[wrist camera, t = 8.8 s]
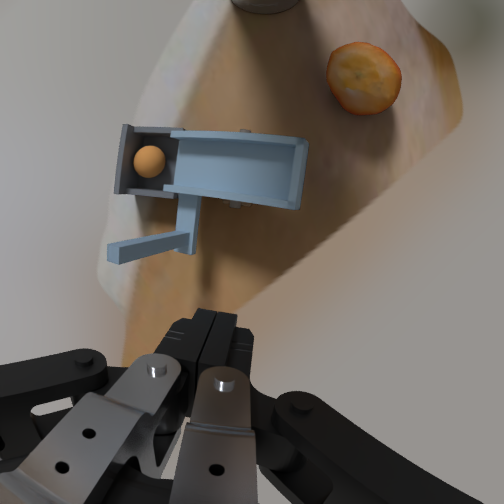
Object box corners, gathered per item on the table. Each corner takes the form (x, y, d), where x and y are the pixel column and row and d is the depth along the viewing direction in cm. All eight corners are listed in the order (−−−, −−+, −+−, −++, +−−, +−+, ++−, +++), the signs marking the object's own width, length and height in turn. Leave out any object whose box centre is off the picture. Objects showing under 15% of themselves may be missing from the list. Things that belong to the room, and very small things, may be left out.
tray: (142, 131, 31) (122, 124, 26) (196, 134, 30) (184, 125, 26) (134, 192, 32) (113, 193, 27) (188, 198, 32) (174, 200, 27)
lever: (184, 135, 27) (110, 112, 17) (309, 144, 23) (280, 106, 14) (171, 248, 29) (96, 269, 20) (289, 274, 26) (249, 317, 16)
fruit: (415, 100, 27) (416, 94, 21) (359, 125, 32) (345, 126, 26) (380, 42, 25) (370, 23, 19) (327, 69, 30) (304, 58, 24)
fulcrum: (237, 138, 30) (230, 127, 25) (261, 140, 30) (259, 131, 25) (228, 203, 32) (219, 206, 26) (251, 206, 32) (248, 209, 26)
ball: (168, 148, 31) (138, 146, 30) (166, 145, 28) (133, 142, 27) (164, 179, 32) (134, 176, 31) (161, 179, 28) (128, 176, 28)
